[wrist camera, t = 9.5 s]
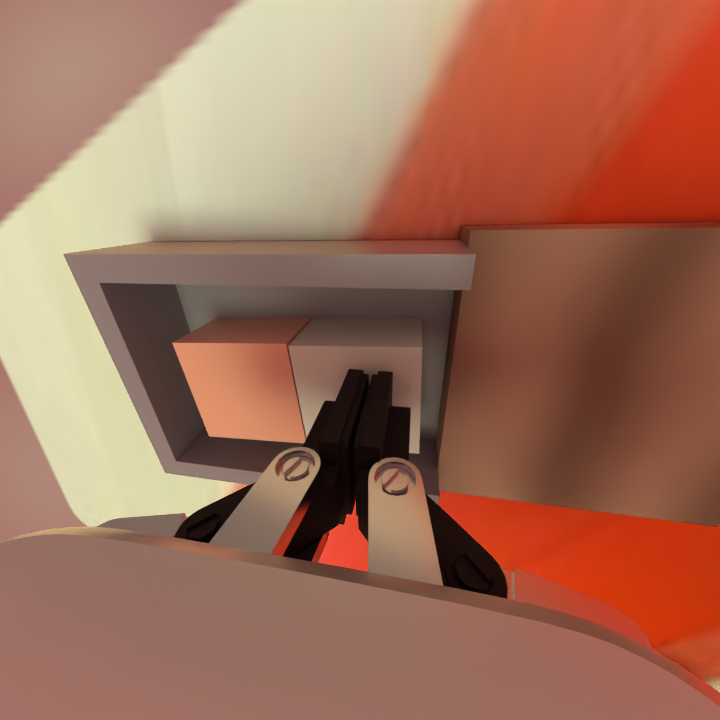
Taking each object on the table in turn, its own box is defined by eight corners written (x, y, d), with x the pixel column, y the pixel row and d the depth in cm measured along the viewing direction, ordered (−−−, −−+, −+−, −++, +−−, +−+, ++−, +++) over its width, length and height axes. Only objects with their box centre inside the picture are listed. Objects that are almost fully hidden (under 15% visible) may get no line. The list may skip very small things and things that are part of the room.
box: (459, 239, 12) (476, 254, 8) (433, 447, 17) (437, 510, 13) (151, 241, 14) (63, 253, 11) (211, 423, 19) (165, 472, 16)
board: (850, 219, 9) (978, 224, 7) (674, 480, 15) (717, 527, 13) (460, 225, 11) (470, 230, 9) (432, 453, 17) (434, 490, 15)
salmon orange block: (311, 317, 14) (285, 343, 11) (324, 404, 16) (306, 443, 13) (215, 318, 15) (172, 342, 12) (241, 400, 17) (209, 436, 14)
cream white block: (421, 318, 13) (422, 347, 10) (419, 410, 15) (419, 453, 13) (312, 319, 14) (288, 346, 11) (325, 406, 16) (307, 444, 14)
